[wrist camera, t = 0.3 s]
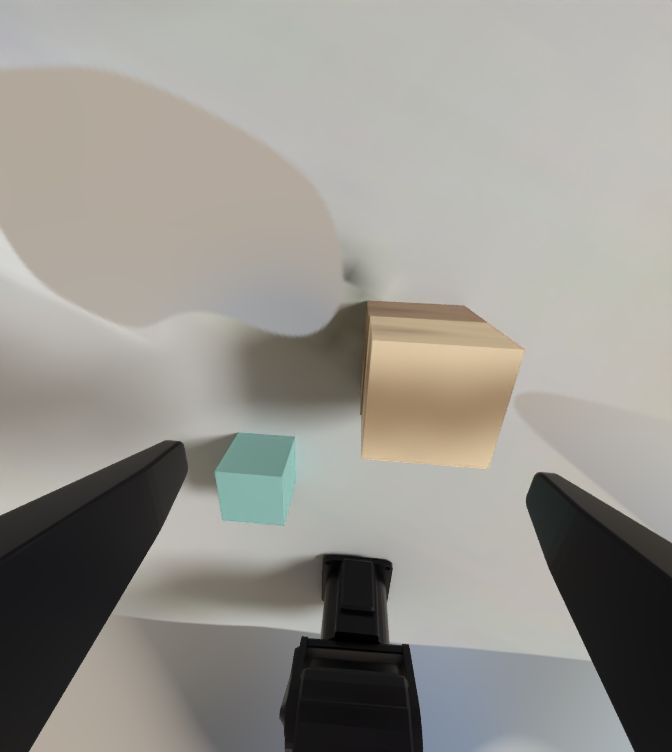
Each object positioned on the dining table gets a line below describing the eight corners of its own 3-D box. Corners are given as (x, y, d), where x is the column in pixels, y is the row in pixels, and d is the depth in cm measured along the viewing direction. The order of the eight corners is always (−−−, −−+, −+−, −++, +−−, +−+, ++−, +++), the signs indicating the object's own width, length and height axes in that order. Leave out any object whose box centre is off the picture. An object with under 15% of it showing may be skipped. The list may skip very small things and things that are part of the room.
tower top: (463, 422, 19) (488, 468, 15) (361, 415, 19) (361, 458, 15) (488, 322, 16) (525, 349, 12) (370, 316, 16) (372, 340, 13)
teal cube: (296, 480, 27) (284, 525, 22) (243, 476, 27) (222, 520, 23) (295, 436, 25) (281, 476, 21) (238, 432, 25) (214, 471, 21)
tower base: (446, 390, 22) (462, 422, 19) (360, 385, 22) (360, 414, 19) (463, 305, 20) (487, 322, 16) (367, 300, 20) (368, 315, 16)
